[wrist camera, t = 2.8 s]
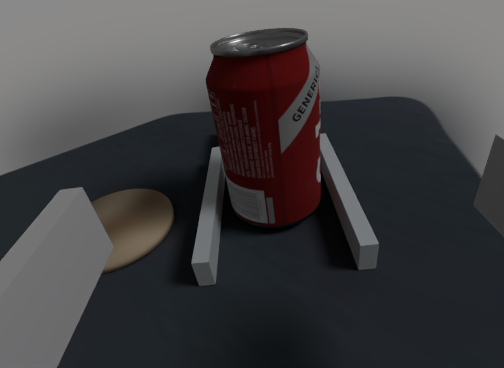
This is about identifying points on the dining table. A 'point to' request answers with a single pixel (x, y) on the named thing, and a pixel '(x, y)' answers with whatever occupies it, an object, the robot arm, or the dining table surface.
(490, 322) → the dining table surface
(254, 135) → the soda can
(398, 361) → the dining table surface
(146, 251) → the cork coaster
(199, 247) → the channel
